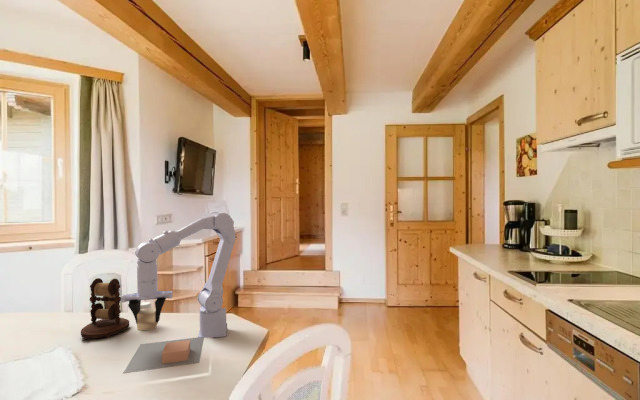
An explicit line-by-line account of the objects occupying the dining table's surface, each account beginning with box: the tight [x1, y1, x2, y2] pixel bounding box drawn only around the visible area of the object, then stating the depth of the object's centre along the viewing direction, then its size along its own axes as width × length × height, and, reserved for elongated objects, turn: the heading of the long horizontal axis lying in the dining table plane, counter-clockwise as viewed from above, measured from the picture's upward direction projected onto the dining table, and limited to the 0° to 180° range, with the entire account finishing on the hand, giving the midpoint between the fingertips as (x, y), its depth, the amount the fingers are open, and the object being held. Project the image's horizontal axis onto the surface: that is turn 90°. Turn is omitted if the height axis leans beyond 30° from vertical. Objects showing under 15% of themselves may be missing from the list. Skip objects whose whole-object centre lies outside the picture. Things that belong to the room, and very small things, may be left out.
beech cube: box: [136, 307, 159, 331], centre depth 103 cm, size 5×5×5 cm
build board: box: [122, 336, 205, 374], centre depth 100 cm, size 20×18×4 cm
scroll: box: [80, 277, 130, 339], centre depth 116 cm, size 15×15×20 cm
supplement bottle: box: [140, 301, 152, 331], centre depth 120 cm, size 5×5×10 cm
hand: (148, 321), depth 103 cm, fingers closed on beech cube, 5 cm apart
